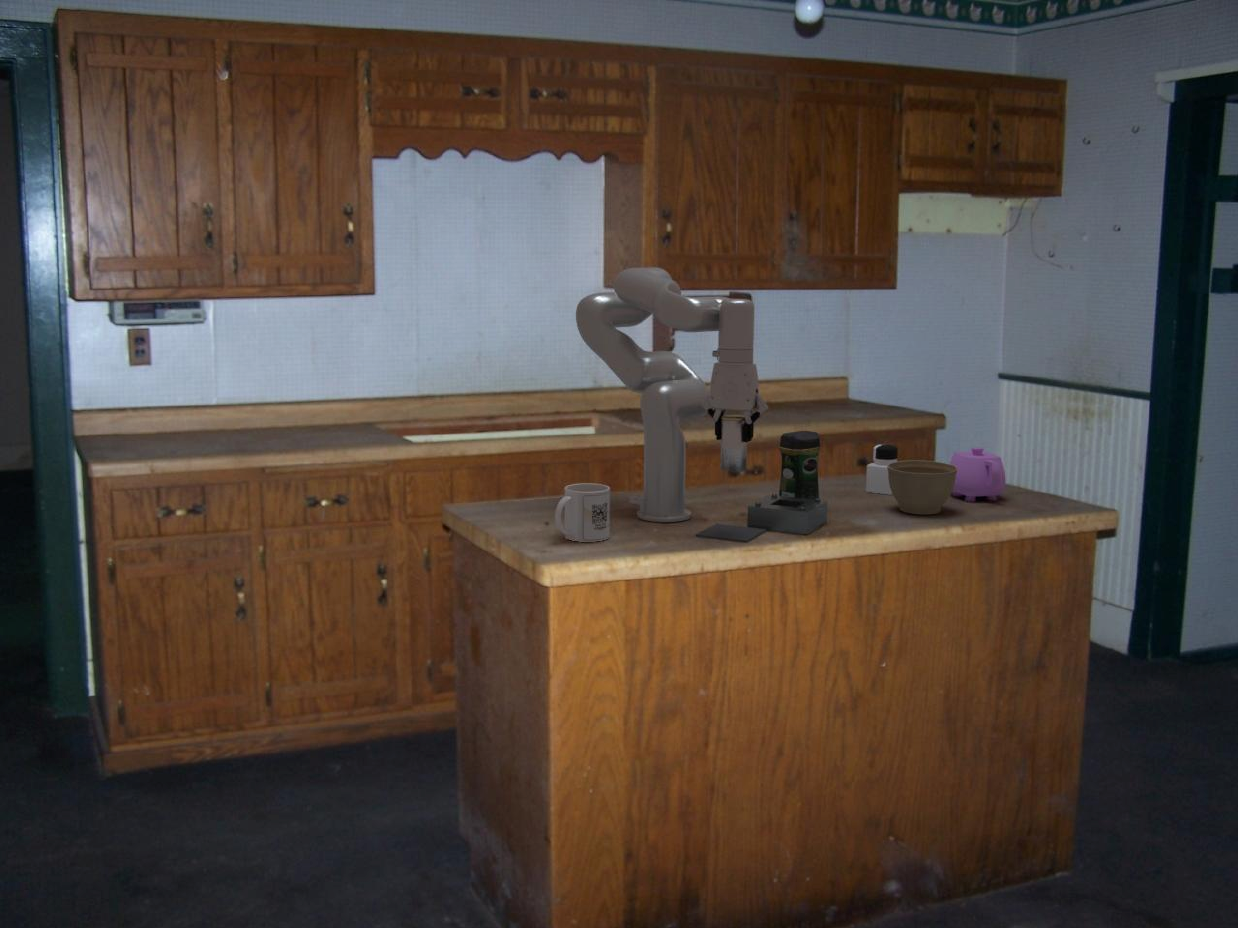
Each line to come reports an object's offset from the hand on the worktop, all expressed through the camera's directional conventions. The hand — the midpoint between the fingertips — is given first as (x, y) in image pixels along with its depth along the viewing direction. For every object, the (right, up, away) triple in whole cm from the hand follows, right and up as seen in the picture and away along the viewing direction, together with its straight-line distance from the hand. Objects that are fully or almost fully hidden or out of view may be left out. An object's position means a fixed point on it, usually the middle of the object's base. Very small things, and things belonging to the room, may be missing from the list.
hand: (733, 439), depth 278 cm
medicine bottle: (+43, -13, +51) cm, 68 cm away
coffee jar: (+18, -16, +31) cm, 39 cm away
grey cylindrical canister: (0, -6, +1) cm, 7 cm away
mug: (-33, -22, -1) cm, 39 cm away
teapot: (+64, -14, +45) cm, 80 cm away
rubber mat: (0, -21, +4) cm, 21 cm away
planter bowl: (+47, -17, +28) cm, 57 cm away
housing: (+13, -19, +13) cm, 26 cm away
